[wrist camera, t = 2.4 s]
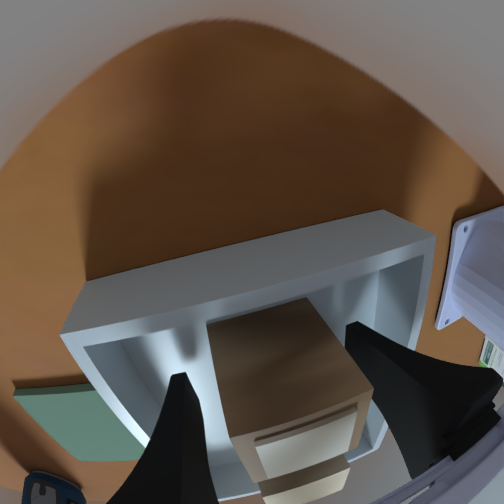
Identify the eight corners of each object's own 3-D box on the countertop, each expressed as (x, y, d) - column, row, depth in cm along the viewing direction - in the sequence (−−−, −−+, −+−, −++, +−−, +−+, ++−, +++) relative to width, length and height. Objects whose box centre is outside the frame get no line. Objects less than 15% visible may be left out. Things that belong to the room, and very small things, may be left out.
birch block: (311, 392, 15) (350, 467, 10) (311, 427, 17) (342, 489, 12) (238, 415, 15) (262, 497, 10) (250, 446, 16) (272, 512, 12)
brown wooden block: (306, 296, 12) (377, 392, 7) (310, 364, 14) (359, 450, 9) (205, 324, 12) (230, 443, 7) (228, 389, 13) (255, 486, 8)
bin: (382, 209, 12) (436, 235, 9) (359, 417, 19) (378, 448, 16) (85, 281, 10) (59, 334, 7) (200, 466, 18) (207, 503, 14)
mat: (119, 378, 13) (118, 387, 12) (172, 449, 16) (173, 456, 15) (15, 388, 11) (12, 395, 11) (79, 454, 15) (79, 460, 14)
